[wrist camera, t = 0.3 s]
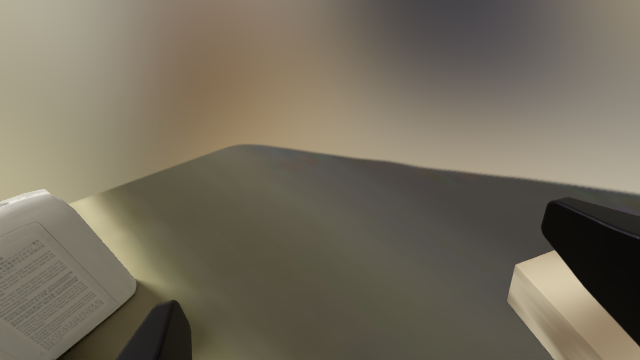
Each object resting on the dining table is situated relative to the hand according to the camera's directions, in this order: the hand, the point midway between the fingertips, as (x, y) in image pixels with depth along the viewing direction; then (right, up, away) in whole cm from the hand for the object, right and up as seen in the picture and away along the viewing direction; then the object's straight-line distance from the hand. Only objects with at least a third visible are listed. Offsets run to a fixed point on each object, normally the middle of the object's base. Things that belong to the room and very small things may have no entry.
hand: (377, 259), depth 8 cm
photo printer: (-22, -10, +22) cm, 32 cm away
